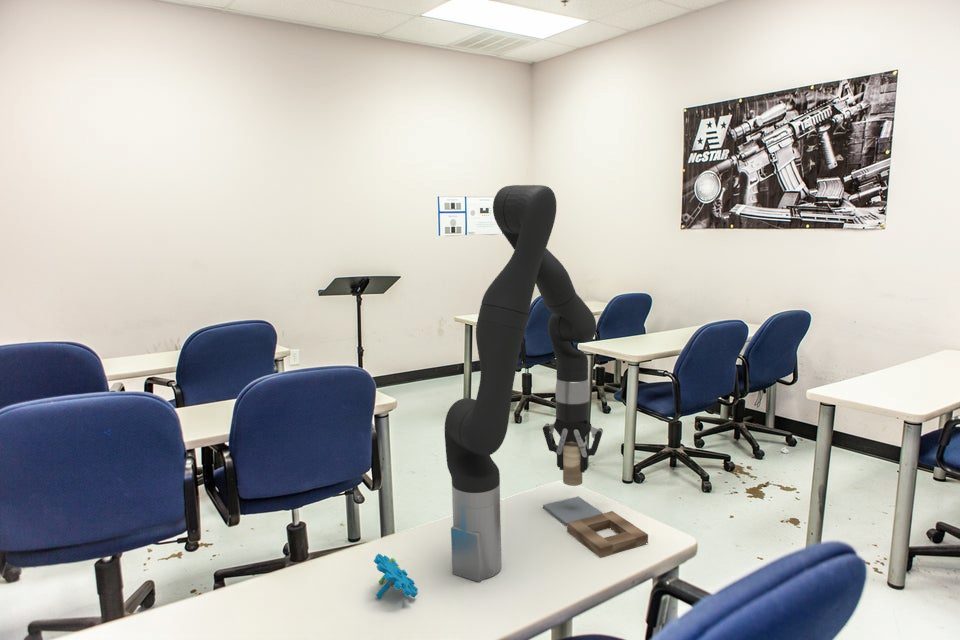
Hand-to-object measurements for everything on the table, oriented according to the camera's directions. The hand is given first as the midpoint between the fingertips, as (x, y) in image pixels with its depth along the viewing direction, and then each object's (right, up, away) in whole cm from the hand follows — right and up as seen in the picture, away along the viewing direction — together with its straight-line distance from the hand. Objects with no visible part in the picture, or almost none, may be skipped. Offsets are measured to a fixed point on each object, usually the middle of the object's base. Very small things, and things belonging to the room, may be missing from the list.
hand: (572, 469), depth 138 cm
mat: (0, -10, +2) cm, 10 cm away
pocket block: (+6, -12, -10) cm, 17 cm away
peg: (0, -3, +1) cm, 3 cm away
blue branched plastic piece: (-37, -16, -28) cm, 49 cm away
